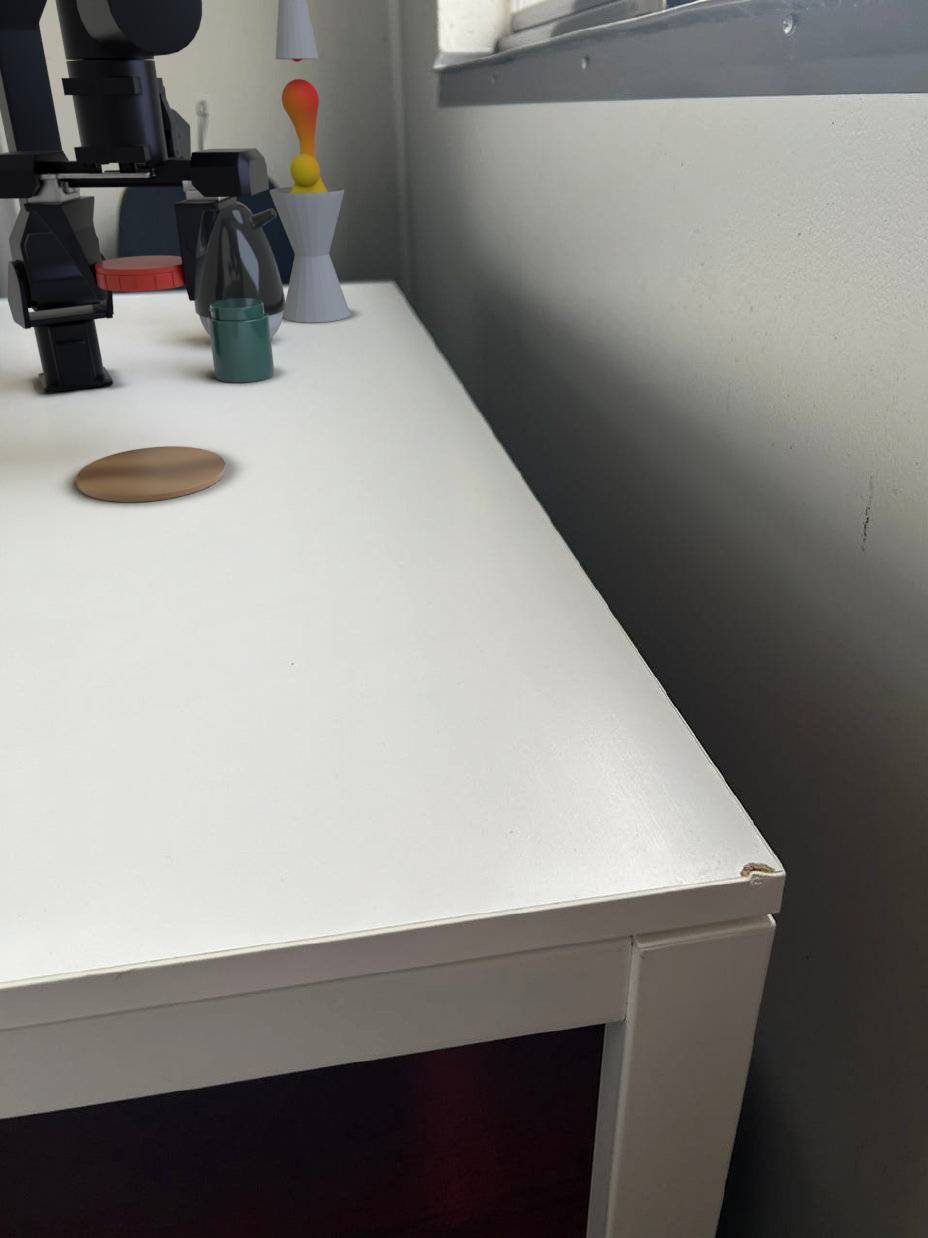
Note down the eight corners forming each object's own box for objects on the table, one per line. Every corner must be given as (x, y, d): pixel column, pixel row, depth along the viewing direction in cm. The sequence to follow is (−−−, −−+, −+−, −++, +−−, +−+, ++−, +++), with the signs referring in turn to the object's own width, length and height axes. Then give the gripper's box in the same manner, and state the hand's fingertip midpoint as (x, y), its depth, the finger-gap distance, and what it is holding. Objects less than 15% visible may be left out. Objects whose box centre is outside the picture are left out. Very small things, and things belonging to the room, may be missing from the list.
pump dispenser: (271, 353, 110) (256, 205, 102) (184, 349, 112) (164, 204, 104) (302, 333, 118) (291, 195, 111) (221, 329, 120) (205, 194, 113)
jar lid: (122, 295, 69) (118, 272, 68) (83, 283, 74) (79, 262, 73) (209, 283, 73) (206, 261, 72) (167, 272, 78) (164, 252, 77)
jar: (209, 371, 103) (199, 300, 99) (265, 365, 105) (258, 295, 102) (223, 385, 98) (213, 311, 95) (281, 378, 100) (274, 305, 97)
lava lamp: (283, 309, 131) (254, -2, 114) (351, 307, 132) (333, -2, 115) (279, 323, 123) (248, -8, 106) (352, 321, 124) (332, -8, 107)
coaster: (69, 464, 78) (68, 458, 78) (208, 444, 82) (207, 438, 82) (87, 512, 69) (86, 505, 69) (242, 486, 73) (241, 480, 73)
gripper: (275, 61, 73) (295, 281, 80) (30, 65, 74) (72, 281, 82) (234, 56, 63) (261, 307, 71) (-47, 61, 64) (9, 308, 72)
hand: (148, 299), depth 74 cm, fingers closed on jar lid, 7 cm apart
